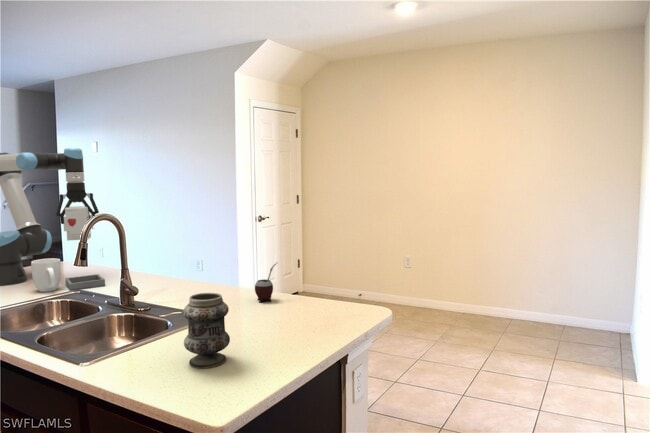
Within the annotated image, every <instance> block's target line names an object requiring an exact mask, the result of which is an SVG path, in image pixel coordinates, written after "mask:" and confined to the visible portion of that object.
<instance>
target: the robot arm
mask: <svg viewBox="0 0 650 433" xmlns="http://www.w3.org/2000/svg"><path fill="white" fill-rule="evenodd" d="M38 170H39V171H41V170H42V171H58V170H59V171H60V170H65V182H66V184H65V185H66V193H64V194H59V196H58V198H59V201H58V204H57V207H56V211H55V216H56V217H59V218H60V224H61V225H63V231H64V232H67V231H66V216H65V208H69V207H71V205H72V203H82V204H83V206H86V207H88V210H89V212H90V218H92V217H93V216H95V217H96V215H98V214H99V212H100V211H99V208H98V206H97V204H96V202H95V199H94V193H92V192H90V193H88V192H86V187H85V185H86V184H85V173H84V172H85V171H84V156H83V150H82V149H81V148H79V147H77V148H72V147H70V148H69V147H68V148H67V147H65V149H64V150H63V153H61V152H59V153H58V152H57V153H54V152H53V153H51V152H28V151H27V152H20V153H10V152H0V189H1V191H2V193H3V196H4V199H5V201H6V203H7V206H8V209H9V212H10V215H11V217H12V219H13V220H12V221H13V222H14V225H15V226H16V229H15V230H7V231H0V286H8V285H15V284H20V283H25V282H26V281H28V273H27V272H26V270H25V267H24V266H23V263H22V260H23V259H22V258H23V257H29V256H35V255H36V256H37V255H42V254H45V253H46V252H48V251H49V250H50V249H51V247H52V242H53V238H52V234H51V232H50V231H49V230H47V229H43V228H42V224H40V223H39V222H38V223H37V221H36V219H35V218H36V217H35V215H34V214H33V211H32V208H31V205H30V203H29V200H28V198H27V196H26V193H25V190H24V188H23V186H22V184H21V178H22V173H23V171H38ZM86 197H87V198H88V199H89V200H90V204H91V206H92V208H91V206H90V205H89V204H88V203H87V201H86V200H85V199H86ZM66 198H67V199H68V201H67V203H66V204H65V206H64V208H63V209H62V206H63V202H64V200H65V199H66ZM61 210H62V211H61ZM93 229H94V226H93V227H92V229H91V230H93Z"/></svg>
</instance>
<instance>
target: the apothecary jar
mask: <svg viewBox="0 0 650 433" xmlns="http://www.w3.org/2000/svg"><path fill="white" fill-rule="evenodd" d="M229 311H230V310H229V305H228V304H227V303H226V302H225V301H224V299H223V295H222V294H220V293H217V292H200V293H195V294H192V295H190V297H189V302H188V303H187V304H186V306H184V309H183V311H182V313H183V316H184V318H185V319H186V320H187V323H188V326H187V328H188V330H187V333H188V334H187V335H186V336H185V338H184V339H183V346H184V349H186V350H187V351H188V352H190V353H191V354H195V356H192V358H190V360H189V362H188V365H189V366H190V367H192V368H195V369H210V368H211V369H212V368H215V367H219V366H221V365H223V364H225V362H226V361H227V356H226V355H225V354H223V353H221V351H223V350H225V349H226V348H227V347H228V346H229V344H230V342H231V336H230V334H229V332H227V331H226V324H225V323H226V322H225V317H226V316H227V315H228V313H229Z"/></svg>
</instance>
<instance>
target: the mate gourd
mask: <svg viewBox="0 0 650 433" xmlns="http://www.w3.org/2000/svg"><path fill="white" fill-rule="evenodd" d="M277 264H278V261H276V262H275V263H274V264H273V265H272V266H271V268H270V270H269V274H268V277H267V279H258V280H257V281H256V282H255V284H254V292H255V295H256V296H257V301H258V303H259V304H262V303H264V302H267V303H272V300H271V299H272V294H273V291H274V286H273V285H274V284H273V282H272V281H271V280H270V277H271V273H272V271H273V268H275V267H276V265H277Z"/></svg>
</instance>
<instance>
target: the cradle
mask: <svg viewBox="0 0 650 433" xmlns="http://www.w3.org/2000/svg"><path fill="white" fill-rule="evenodd" d="M64 279H65V282H64V283H65V286H66V288H68V290H69V292H73V291H79V290H80V291H81V290H86V289H87V290H88V289H93V288H100V287H106V281H105V278H103V277H102V276H101V275H100V274H99V273H98V274H96V273H95V274H91V275H89V274H88V275H82V276H81V275H80V276H75V277H74V276H71V277H65V278H64Z"/></svg>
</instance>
